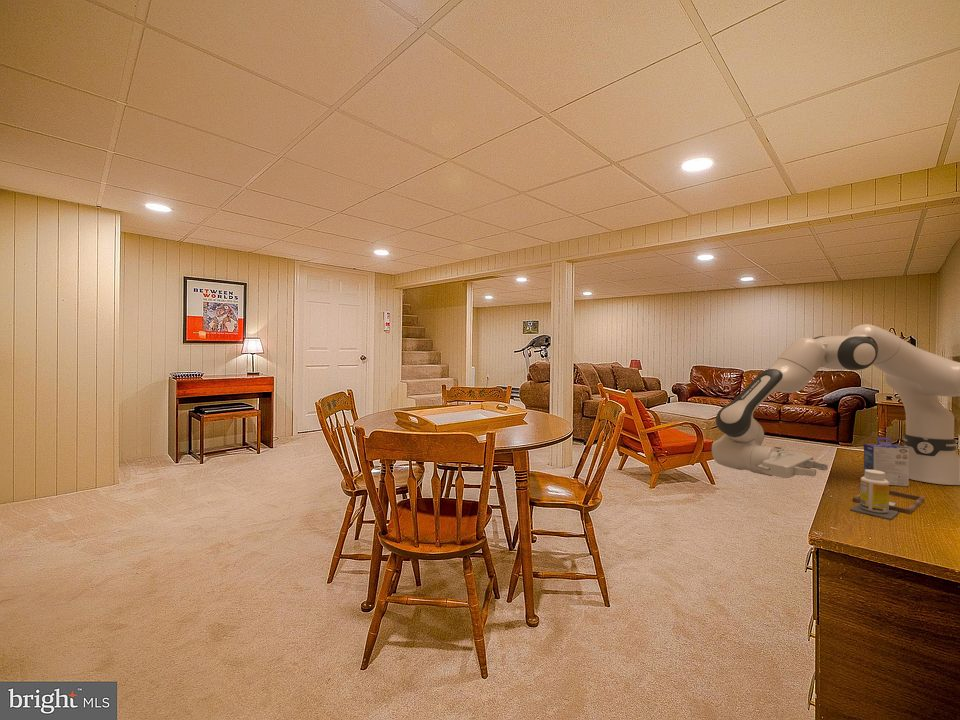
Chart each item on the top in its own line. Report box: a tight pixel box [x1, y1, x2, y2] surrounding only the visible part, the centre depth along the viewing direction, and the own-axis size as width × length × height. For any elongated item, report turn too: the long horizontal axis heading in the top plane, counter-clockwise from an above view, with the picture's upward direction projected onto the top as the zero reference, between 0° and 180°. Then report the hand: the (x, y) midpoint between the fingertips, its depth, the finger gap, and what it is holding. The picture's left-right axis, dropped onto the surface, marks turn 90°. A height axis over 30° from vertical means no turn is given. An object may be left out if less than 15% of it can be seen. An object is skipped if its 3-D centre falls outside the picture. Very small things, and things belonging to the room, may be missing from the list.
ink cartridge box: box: [863, 436, 910, 487], centre depth 138 cm, size 10×6×14 cm, turn 78°
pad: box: [849, 502, 900, 521], centre depth 113 cm, size 8×8×1 cm
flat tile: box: [889, 501, 897, 506], centre depth 119 cm, size 4×4×1 cm
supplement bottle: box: [859, 469, 890, 513], centre depth 113 cm, size 6×6×10 cm
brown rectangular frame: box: [852, 489, 925, 515], centre depth 122 cm, size 18×12×1 cm, turn 126°
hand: (821, 470), depth 123 cm, fingers open, 8 cm apart
